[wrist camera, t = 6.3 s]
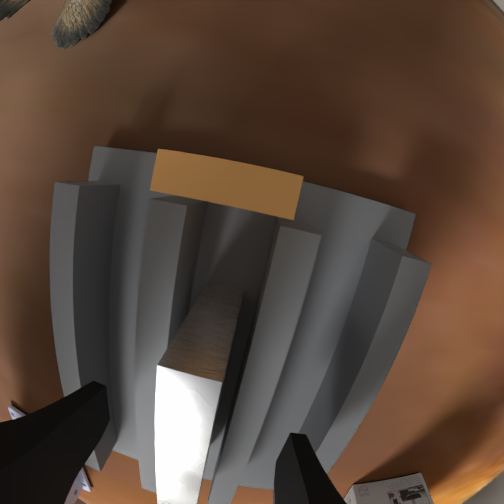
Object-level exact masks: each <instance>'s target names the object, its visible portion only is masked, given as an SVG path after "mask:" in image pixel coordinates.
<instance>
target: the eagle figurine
mask: <svg viewBox="0 0 504 504" xmlns="http://www.w3.org/2000/svg"><path fill="white" fill-rule="evenodd" d="M29 1H30V0H0V21H1V20H3V19H4V18H5V17H6V18H8V19H9V18H10V17H11V16H12V15H14V14H15V13H16V12H17V11H18V10H19V9H20V8H22V7H23V6H24V5H25V4H27V3H28V2H29ZM112 1H113V0H66V2H65V5H64V7H63V9H62V12H61V14H60V16H59V18H58V20H57V22H56V24H55V26H54V27H53V30H52V32H51V33H52V35H54V38H53V41H54V42H57V44H56V47H57V48H60V47H61V49H62V50H64V49H66V48H67V47H68V46H69V45H70V46H74V45H75V44H76V43H77V42H78V40H79V39H80V38H81V39H82V40H84V39H86V37H87V35H88V34H89V33H90V34H92V33H93V32H95V30H96V29H97V28H98V27H99V25H100V23H101V22H102V21H103V20H104V19H105V17H106V14H107V13H108V12H109V11H110V4H111V3H112Z"/></svg>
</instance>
